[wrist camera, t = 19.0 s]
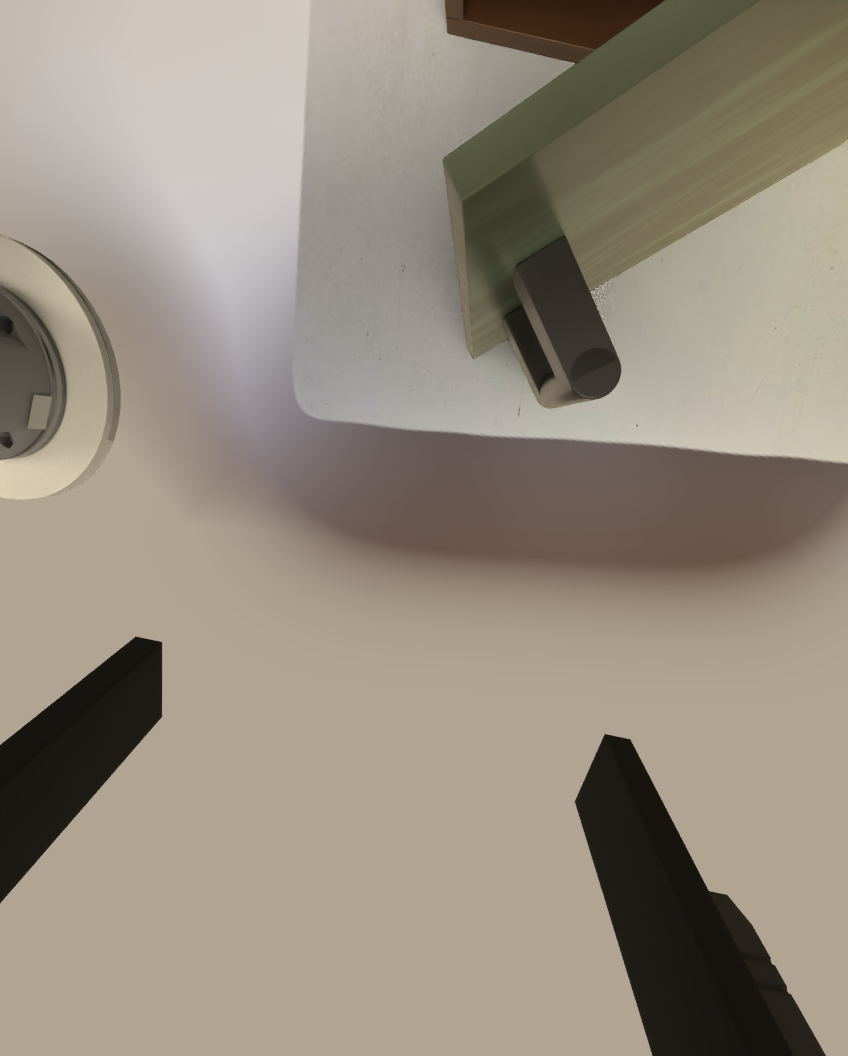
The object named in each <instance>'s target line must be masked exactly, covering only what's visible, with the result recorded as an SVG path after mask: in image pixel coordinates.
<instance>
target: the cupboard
mask: <svg viewBox="0 0 848 1056" xmlns="http://www.w3.org/2000/svg"><path fill="white" fill-rule="evenodd" d="M663 1H665V0H445V7H446V20H447V33H449V34H454V35H458V36H462V37H467V38H471V39H475V40H480V41H484V42H489V43H493V44H497V45H502V46H506V47H510V48H515V49H519V50H524V51H528V52H532V53H537V54H541V55H545V56H550V57H554V58H559V59H563V60H567V61H572V62H576V63H578V62H579V61H580V60H582V59H583V58H585V57H586V56H587V55H589V54H590V53H592V52H593V51H594V50H596V49H597V48H599V47H600V46H602V45H603V44H604V43H606V42H607V41H609V40H610V39H611V38H613V37H614V36H616V35H617V34H618V33H620V32H621V31H623V30H624V29H625V28H627V27H628V26H630V25H631V24H632V23H634V22H635V21H637V20H638V19H639V18H641V17H642V16H644V15H645V14H646V13H648V12H649V11H651V10H652V9H653V8H655V7H656V6H658V5H659V4H660V3H662V2H663Z"/></svg>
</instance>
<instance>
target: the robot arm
mask: <svg viewBox="0 0 848 1056" xmlns="http://www.w3.org/2000/svg"><path fill="white" fill-rule="evenodd" d="M65 406H66V378H65V372H64V367H63V363H62V360H61V357H60V354H59V351H58V349H57V346H56V344H55V342H54V340H53V338H52V336H51V334H50V332H49V331H48V329H47V327H46V326H45V324H44V323H43V322H42V320H41V319H40V318H39V316H38V315H37V314H36V313H35V312H34V310H33V309H32V308H31V307H30V306H29V305H28V304H27V303H26V302H24V301H23V300H22V299H21V298H20V297H18V296H17V295H15V294H14V293H13V292H11V291H9V290H8V289H6V288H4V287H2V286H0V460H6V459H18V458H23V457H27V456H30V455H32V454H34V453H36V452H38V451H39V450H41V449H42V448H43V447H45V446H46V445H47V444H48V443H49V442H50V441H51V439H52V438H53V437H54V435H55V434H56V432H57V430H58V428H59V427H60V424H61V422H62V419H63V415H64V412H65ZM161 717H162V642H159V641H154V640H149V639H144V638H139V637H135V638H134V639H132V640H131V641H130V642H129V643H127V644H126V645H125V646H124V647H122V648H121V649H120V650H119V651H117V652H116V653H115V654H114V655H112V656H111V657H110V658H109V659H107V660H106V661H105V662H104V663H102V664H101V665H100V666H98V667H97V668H96V669H95V670H94V671H92V672H91V673H90V674H88V675H87V676H86V677H85V678H83V679H82V680H81V681H80V682H79V683H77V684H76V685H75V686H73V687H72V688H71V689H70V690H69V691H67V692H66V693H65V694H63V696H61V697H60V698H59V699H57V700H56V701H55V702H54V703H52V704H51V705H50V706H48V707H47V708H46V709H45V710H43V711H42V712H41V713H40V714H38V715H37V716H36V717H35V718H34V719H32V720H31V721H30V722H29V723H27V724H26V725H25V726H23V727H22V728H21V729H20V730H19V731H17V732H16V733H15V734H13V735H12V736H11V737H10V738H8V739H7V740H6V741H5V742H3V743H2V744H1V745H0V903H1V902H2V901H3V899H4V898H5V897H6V896H7V895H8V894H9V892H10V891H11V890H12V889H13V888H14V887H15V886H16V884H17V883H18V882H19V881H20V880H21V879H22V877H23V876H24V875H25V874H26V873H27V872H28V871H29V869H30V868H31V867H32V866H33V865H34V864H35V863H36V861H37V860H38V859H39V858H40V857H41V856H42V854H43V853H44V852H45V851H46V850H47V849H48V848H49V846H50V845H51V844H52V843H53V842H54V840H56V838H57V837H58V836H59V835H60V833H62V831H63V830H64V829H65V828H66V827H67V826H68V824H69V823H70V822H71V821H72V820H73V818H74V817H75V816H76V815H77V814H78V813H79V812H80V810H81V809H82V808H83V807H84V806H85V805H86V804H87V803H88V801H89V800H90V799H91V798H92V797H93V796H94V794H95V793H96V792H97V791H98V790H99V789H100V788H101V786H102V785H103V784H104V783H105V782H106V781H107V780H108V778H109V777H110V776H111V775H112V774H113V773H114V771H115V770H116V769H117V768H118V767H119V765H121V763H122V762H123V761H124V760H125V759H126V758H127V756H128V755H129V754H130V753H131V752H132V751H133V750H134V748H135V747H136V746H137V745H138V744H139V743H140V741H141V740H142V739H143V738H144V737H145V735H147V733H148V732H149V731H150V730H151V729H152V728H153V726H154V725H155V724H156V723H157V722H158V721H159V720H160V718H161ZM575 803H576V806H577V810H578V813H579V817H580V820H581V823H582V826H583V829H584V832H585V836H586V839H587V842H588V845H589V849H590V853H591V856H592V859H593V862H594V866H595V869H596V872H597V876H598V879H599V882H600V885H601V889H602V892H603V895H604V898H605V901H606V905H607V908H608V911H609V915H610V918H611V921H612V925H613V928H614V931H615V934H616V938H617V941H618V944H619V947H620V951H621V954H622V957H623V961H624V964H625V967H626V970H627V974H628V977H629V980H630V983H631V987H632V990H633V993H634V996H635V1000H636V1003H637V1006H638V1010H639V1013H640V1016H641V1019H642V1023H643V1026H644V1029H645V1033H646V1036H647V1039H648V1042H649V1045H650V1049H651V1052H652V1055H653V1056H826V1055H825V1053H824V1052H823V1050H822V1048H821V1046H820V1045H819V1043H818V1041H817V1039H816V1038H815V1036H814V1034H813V1032H812V1030H811V1029H810V1027H809V1025H808V1023H807V1022H806V1020H805V1018H804V1016H803V1014H802V1013H801V1011H800V1009H799V1007H798V1006H797V1004H796V1003H795V1000H794V999H793V997H792V995H791V994H789V993H788V992H787V986H786V984H785V983H784V981H783V979H782V977H781V976H780V974H779V972H778V970H777V968H776V967H775V965H772V963H771V960H770V959H771V958H770V956H769V954H768V953H767V951H766V949H765V947H764V946H763V944H762V942H761V940H760V938H759V937H758V935H757V933H756V932H755V929H754V928H753V926H752V924H751V923H750V922H749V921H748V920H747V918H746V917H745V916H744V915H743V914H742V912H741V911H740V910H739V909H738V908H737V906H736V905H735V904H734V903H733V901H732V900H731V899H730V898H729V897H728V896H727V895H725V894H719V893H715V892H710V891H708V889H707V887H706V885H705V883H704V881H703V879H702V877H701V875H700V873H699V871H698V869H697V868H696V866H695V864H694V862H693V860H692V858H691V856H690V854H689V852H688V850H687V848H686V846H685V844H684V843H683V840H682V839H681V837H680V835H679V833H678V831H677V829H676V827H675V825H674V823H673V821H672V819H671V817H670V815H669V814H668V812H667V810H666V808H665V806H664V804H663V802H662V800H661V798H660V796H659V794H658V792H657V790H656V788H655V786H654V784H653V783H652V781H651V779H650V777H649V775H648V773H647V771H646V769H645V767H644V765H643V763H642V761H641V759H640V757H639V755H638V753H637V752H636V750H635V748H634V746H633V744H632V742H631V740H630V739H625V738H621V737H616V736H611V735H606V734H605V735H604V737H603V739H602V742H601V744H600V746H599V749H598V751H597V753H596V755H595V758H594V760H593V762H592V764H591V766H590V769H589V771H588V773H587V775H586V778H585V780H584V782H583V784H582V787H581V789H580V791H579V794H578V796H577V798H576V800H575Z"/></svg>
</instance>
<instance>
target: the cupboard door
mask: <svg viewBox="0 0 848 1056" xmlns="http://www.w3.org/2000/svg"><path fill="white" fill-rule="evenodd" d="M847 139H848V0H665V1H663V2H662V3H660V4H659V5H658V6H656V7H655V8H653V9H652V10H651V11H649V12H648V13H646V14H645V15H644V16H642V17H641V18H639V19H638V20H637V21H635V22H634V23H632V24H631V25H630V26H628V27H627V28H625V29H624V30H623V31H621V32H620V33H618V34H617V35H616V36H614V37H613V38H611V39H610V40H609V41H607V42H606V43H604V44H603V45H602V46H600V47H599V48H597V49H596V50H594V51H593V52H592V53H590V54H589V55H587V56H586V57H585V58H583V59H582V60H580V61H579V62H578V63H576V64H575V65H573V66H572V67H571V68H569V69H568V70H566V71H565V72H564V73H562V74H561V75H559V76H558V77H557V78H555V79H554V80H552V81H551V82H550V83H548V84H547V85H545V86H544V87H543V88H541V89H540V90H538V91H537V92H536V93H534V94H533V95H531V96H530V97H529V98H527V99H526V100H524V101H523V102H522V103H520V104H519V105H517V106H516V107H515V108H513V109H512V110H510V111H509V112H508V113H506V114H505V115H503V116H502V117H501V118H499V119H498V120H496V121H495V122H494V123H492V124H491V125H489V126H488V127H487V128H485V129H484V130H482V131H481V132H479V133H478V134H477V135H475V136H474V137H472V138H471V139H470V140H468V141H467V142H465V143H464V144H463V145H461V146H460V147H458V148H457V149H456V150H454V151H453V152H451V153H450V154H449V155H447V156H446V157H444V159H443V166H444V173H445V181H446V188H447V196H448V204H449V211H450V219H451V226H452V234H453V241H454V249H455V257H456V264H457V272H458V279H459V287H460V294H461V302H462V310H463V317H464V325H465V332H466V340H467V347H468V350H469V352H470V354H471V356H472V358H473V359H474V358H476V357H478V356H480V355H481V354H483V353H485V352H486V351H488V350H490V349H491V348H493V347H495V346H497V345H498V344H500V343H502V342H503V341H505V340H507V339H509V342H510V344H511V346H512V348H513V350H514V352H515V354H516V356H517V359H518V361H519V363H520V365H521V367H522V369H523V371H524V373H525V376H526V378H527V380H528V382H529V384H530V386H531V388H532V390H533V393H534V395H535V397H536V399H537V401H538V402H539V404H540V405H542V406H543V407H545V408H557V407H562V406H566V405H571V404H576V403H580V402H585V401H590V400H595V399H599V398H602V397H604V396H606V395H608V394H609V393H610V392H611V391H612V390H613V389H614V388H615V387H616V385H617V384H618V382H619V379H620V375H621V364H620V361H619V359H618V356H617V353H616V351H615V349H614V347H613V344H612V342H611V340H610V337H609V335H608V333H607V330H606V328H605V326H604V323H603V321H602V319H601V316H600V314H599V312H598V309H597V307H596V305H595V303H594V300H593V298H592V296H591V293H590V291H591V290H593V289H594V288H596V287H598V286H599V285H601V284H603V283H605V282H606V281H608V280H610V279H611V278H613V277H615V276H617V275H618V274H620V273H622V272H623V271H625V270H627V269H628V268H630V267H632V266H634V265H635V264H637V263H639V262H640V261H642V260H644V259H646V258H647V257H649V256H651V255H652V254H654V253H656V252H658V251H659V250H661V249H663V248H664V247H666V246H668V245H670V244H671V243H673V242H675V241H676V240H678V239H680V238H682V237H683V236H685V235H687V234H688V233H690V232H692V231H694V230H695V229H697V228H699V227H700V226H702V225H704V224H706V223H707V222H709V221H711V220H712V219H714V218H716V217H718V216H719V215H721V214H723V213H724V212H726V211H728V210H730V209H731V208H733V207H735V206H736V205H738V204H740V203H742V202H743V201H745V200H747V199H748V198H750V197H752V196H753V195H755V194H757V193H759V192H760V191H762V190H764V189H765V188H767V187H769V186H771V185H772V184H774V183H776V182H777V181H779V180H781V179H783V178H784V177H786V176H788V175H789V174H791V173H793V172H795V171H796V170H798V169H800V168H801V167H803V166H805V165H807V164H808V163H810V162H812V161H813V160H815V159H817V158H819V157H820V156H822V155H824V154H825V153H827V152H829V151H831V150H832V149H834V148H836V147H837V146H839V145H841V144H842V143H844V142H845V141H846V140H847Z"/></svg>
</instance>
